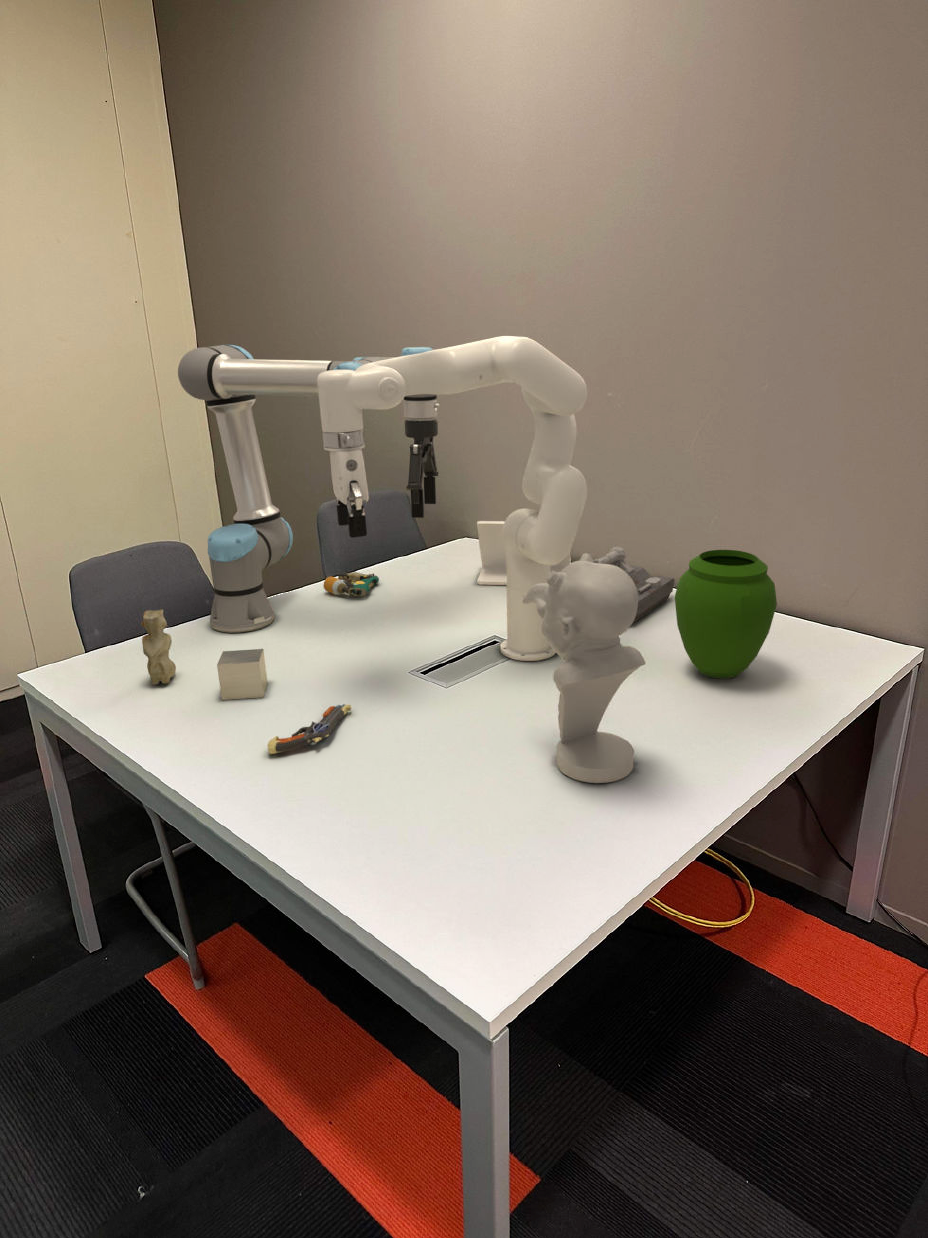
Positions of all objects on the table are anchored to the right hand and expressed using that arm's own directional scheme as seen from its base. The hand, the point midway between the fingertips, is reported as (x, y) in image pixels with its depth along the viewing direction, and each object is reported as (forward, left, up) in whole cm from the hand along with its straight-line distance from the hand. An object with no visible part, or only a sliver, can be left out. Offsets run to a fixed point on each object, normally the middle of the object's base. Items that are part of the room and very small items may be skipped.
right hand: (352, 530), depth 163 cm
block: (+24, -4, -33) cm, 40 cm away
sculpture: (+41, -14, -33) cm, 54 cm away
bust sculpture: (-31, +39, -33) cm, 60 cm away
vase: (-71, +14, -33) cm, 80 cm away
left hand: (-20, -36, -6) cm, 41 cm away
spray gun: (-4, -62, -33) cm, 70 cm away
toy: (-67, -30, -33) cm, 80 cm away
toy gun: (+12, +18, -33) cm, 39 cm away
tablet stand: (-52, -60, -33) cm, 86 cm away
